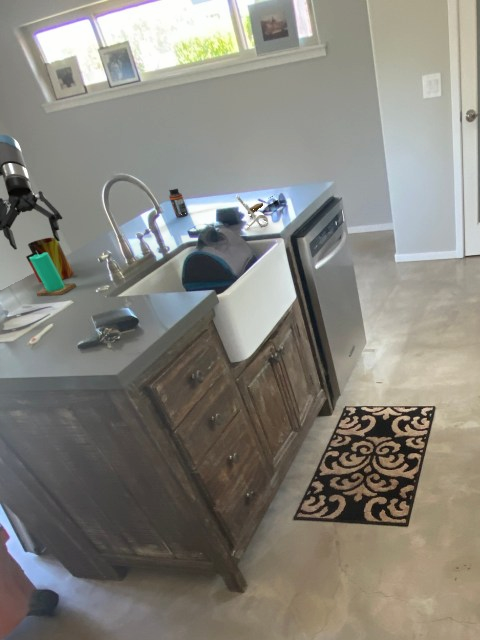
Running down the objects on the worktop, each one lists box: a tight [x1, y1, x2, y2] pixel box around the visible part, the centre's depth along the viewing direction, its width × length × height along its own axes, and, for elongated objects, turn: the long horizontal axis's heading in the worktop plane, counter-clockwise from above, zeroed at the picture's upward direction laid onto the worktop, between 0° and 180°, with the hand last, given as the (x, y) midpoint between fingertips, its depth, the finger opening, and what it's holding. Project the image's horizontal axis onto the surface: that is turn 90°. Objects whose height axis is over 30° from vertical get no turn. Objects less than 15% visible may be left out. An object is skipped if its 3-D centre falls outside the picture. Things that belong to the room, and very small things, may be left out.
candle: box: [29, 251, 65, 291], centre depth 173 cm, size 6×6×12 cm
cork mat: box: [36, 282, 77, 297], centre depth 177 cm, size 10×8×1 cm
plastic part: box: [235, 194, 269, 231], centre depth 211 cm, size 8×10×12 cm
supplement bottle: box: [168, 187, 189, 218], centre depth 245 cm, size 6×6×11 cm
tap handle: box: [247, 195, 273, 218], centre depth 237 cm, size 3×3×30 cm
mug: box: [25, 236, 75, 284], centre depth 186 cm, size 10×14×12 cm
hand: (35, 242), depth 172 cm, fingers open, 13 cm apart
